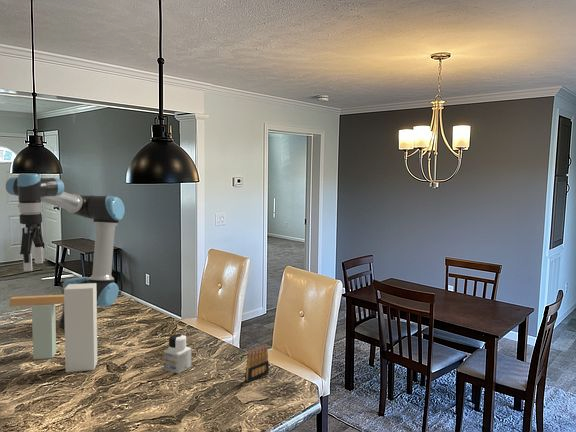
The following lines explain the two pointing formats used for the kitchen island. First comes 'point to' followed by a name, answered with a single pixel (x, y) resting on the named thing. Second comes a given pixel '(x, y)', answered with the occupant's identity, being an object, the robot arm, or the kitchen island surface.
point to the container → (177, 354)
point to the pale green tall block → (43, 331)
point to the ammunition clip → (257, 363)
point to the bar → (36, 300)
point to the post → (80, 327)
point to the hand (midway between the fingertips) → (33, 266)
